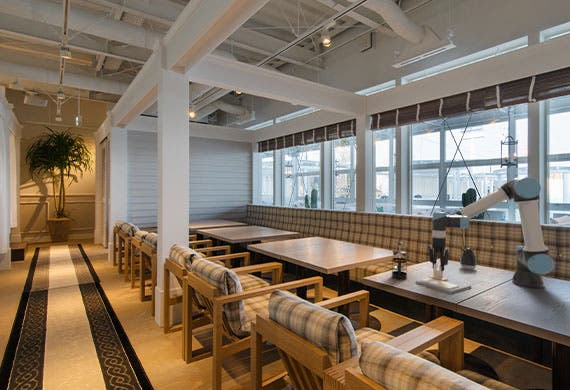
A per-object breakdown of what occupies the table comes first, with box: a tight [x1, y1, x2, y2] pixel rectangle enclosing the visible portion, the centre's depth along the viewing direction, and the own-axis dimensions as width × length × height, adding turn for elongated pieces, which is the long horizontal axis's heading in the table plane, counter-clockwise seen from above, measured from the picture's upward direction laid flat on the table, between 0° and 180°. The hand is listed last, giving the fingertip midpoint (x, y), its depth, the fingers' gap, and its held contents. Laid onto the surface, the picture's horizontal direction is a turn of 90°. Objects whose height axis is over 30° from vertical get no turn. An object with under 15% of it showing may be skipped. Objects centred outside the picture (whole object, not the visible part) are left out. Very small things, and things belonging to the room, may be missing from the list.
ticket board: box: [415, 277, 472, 295], centre depth 190 cm, size 22×20×2 cm
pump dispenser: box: [459, 247, 478, 271], centre depth 228 cm, size 10×10×15 cm
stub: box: [428, 267, 449, 281], centre depth 198 cm, size 9×6×6 cm, turn 31°
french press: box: [391, 241, 408, 281], centre depth 206 cm, size 12×9×23 cm
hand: (438, 275), depth 198 cm, fingers closed on stub, 3 cm apart
